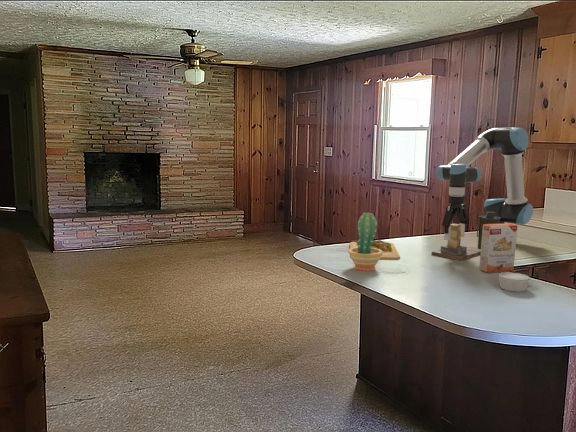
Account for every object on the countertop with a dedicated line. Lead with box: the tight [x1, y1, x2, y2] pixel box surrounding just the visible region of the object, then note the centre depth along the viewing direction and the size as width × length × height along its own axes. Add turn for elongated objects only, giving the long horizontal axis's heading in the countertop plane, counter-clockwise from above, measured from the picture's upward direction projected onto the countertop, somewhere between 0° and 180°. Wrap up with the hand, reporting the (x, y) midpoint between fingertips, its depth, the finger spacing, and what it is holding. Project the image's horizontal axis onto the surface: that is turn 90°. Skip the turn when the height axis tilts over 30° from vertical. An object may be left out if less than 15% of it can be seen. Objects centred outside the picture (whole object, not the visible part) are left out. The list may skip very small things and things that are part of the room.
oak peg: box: [446, 223, 462, 248], centre depth 265 cm, size 4×4×14 cm
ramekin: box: [498, 272, 531, 293], centre depth 210 cm, size 11×11×5 cm
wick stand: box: [431, 244, 481, 261], centre depth 270 cm, size 24×16×4 cm, turn 133°
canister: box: [476, 212, 501, 249], centre depth 278 cm, size 11×10×20 cm
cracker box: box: [478, 222, 518, 274], centre depth 236 cm, size 14×6×21 cm, turn 105°
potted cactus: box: [347, 212, 383, 272], centre depth 239 cm, size 15×15×25 cm
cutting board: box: [349, 239, 401, 261], centre depth 274 cm, size 35×23×8 cm
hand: (454, 238), depth 265 cm, fingers open, 13 cm apart
